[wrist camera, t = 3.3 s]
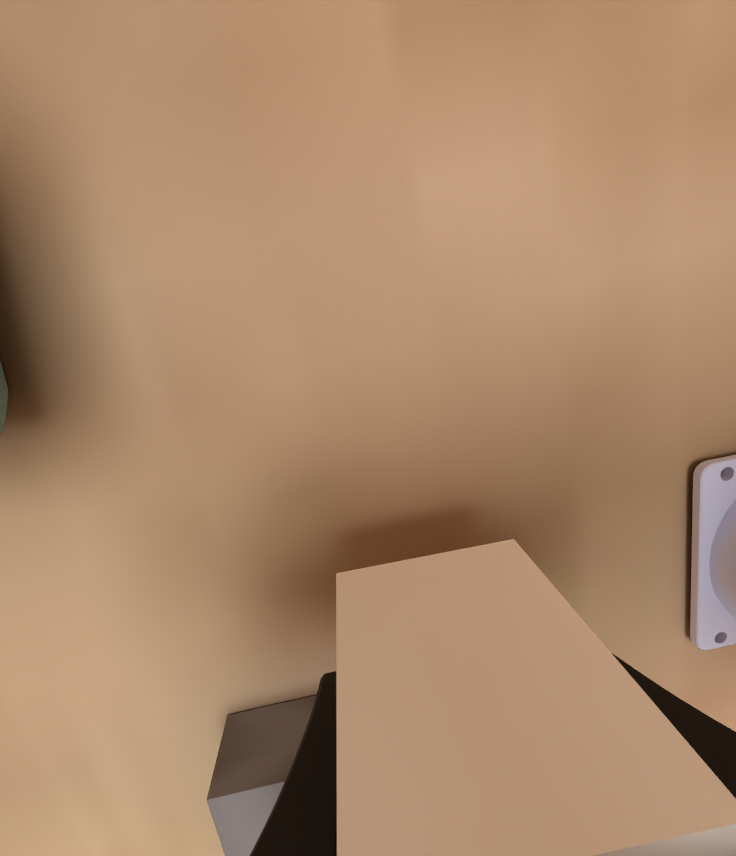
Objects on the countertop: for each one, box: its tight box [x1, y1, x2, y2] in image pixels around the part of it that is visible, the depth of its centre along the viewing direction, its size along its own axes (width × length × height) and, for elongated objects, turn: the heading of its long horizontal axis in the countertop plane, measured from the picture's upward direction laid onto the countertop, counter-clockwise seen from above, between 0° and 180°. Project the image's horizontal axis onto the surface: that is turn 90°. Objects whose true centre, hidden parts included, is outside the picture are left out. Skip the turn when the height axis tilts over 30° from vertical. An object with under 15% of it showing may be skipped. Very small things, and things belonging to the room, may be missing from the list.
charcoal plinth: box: [207, 695, 317, 856], centre depth 16 cm, size 9×9×3 cm
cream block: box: [336, 539, 736, 856], centre depth 9 cm, size 5×5×7 cm
